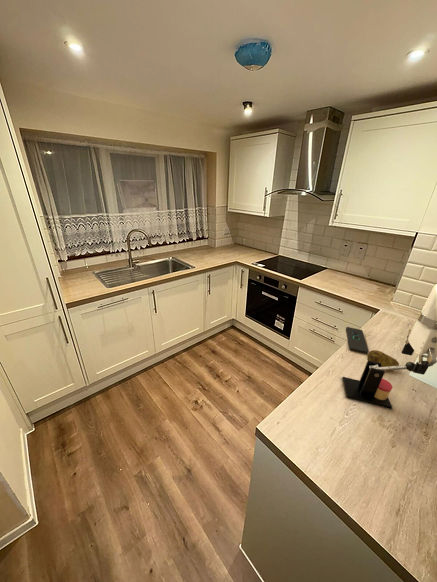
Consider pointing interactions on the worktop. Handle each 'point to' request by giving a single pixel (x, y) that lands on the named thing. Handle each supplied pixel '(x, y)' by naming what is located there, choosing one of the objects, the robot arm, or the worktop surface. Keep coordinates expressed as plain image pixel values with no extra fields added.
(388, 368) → the black ball knob
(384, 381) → the cake
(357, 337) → the smart home device
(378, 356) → the potato
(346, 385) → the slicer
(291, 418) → the worktop surface
